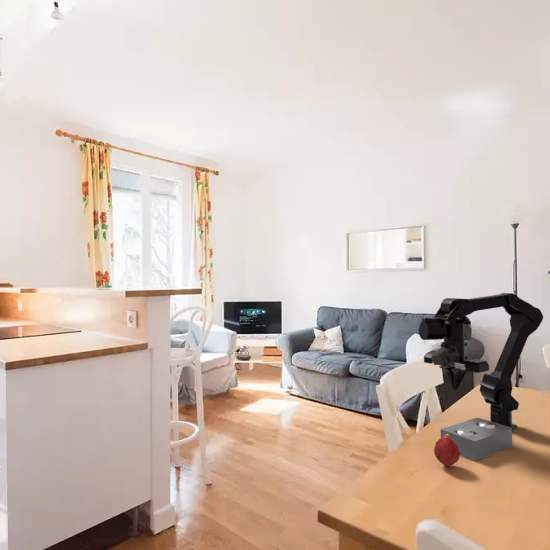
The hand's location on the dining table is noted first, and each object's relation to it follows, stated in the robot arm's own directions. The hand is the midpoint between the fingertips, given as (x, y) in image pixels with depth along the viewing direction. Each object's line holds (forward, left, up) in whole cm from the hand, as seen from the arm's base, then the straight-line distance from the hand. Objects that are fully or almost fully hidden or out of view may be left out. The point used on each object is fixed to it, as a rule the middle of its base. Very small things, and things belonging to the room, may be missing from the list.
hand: (455, 390), depth 123 cm
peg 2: (+2, +11, -12) cm, 16 cm away
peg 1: (+12, +11, -12) cm, 20 cm away
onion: (+24, +14, -12) cm, 30 cm away
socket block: (+7, +11, -12) cm, 18 cm away
